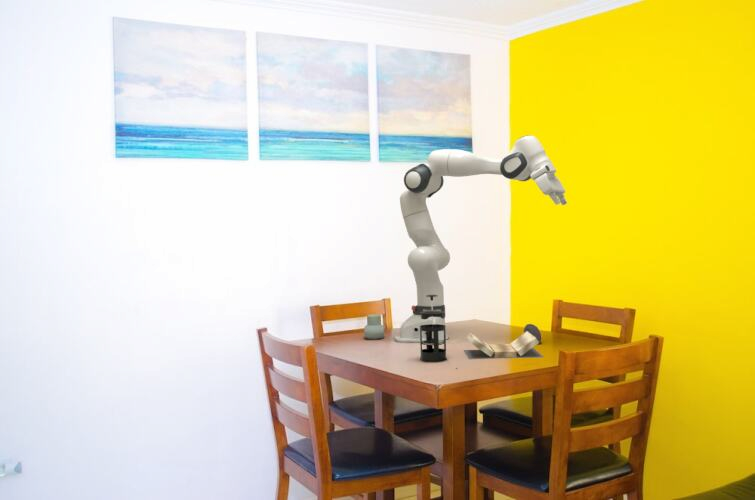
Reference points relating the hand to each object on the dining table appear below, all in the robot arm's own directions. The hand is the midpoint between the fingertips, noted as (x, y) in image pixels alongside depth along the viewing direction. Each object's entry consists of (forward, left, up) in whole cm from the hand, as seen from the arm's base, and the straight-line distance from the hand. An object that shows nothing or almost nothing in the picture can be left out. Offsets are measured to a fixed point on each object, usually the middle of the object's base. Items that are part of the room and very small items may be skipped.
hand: (561, 204), depth 264 cm
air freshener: (-73, +32, -54) cm, 96 cm away
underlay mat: (-26, -15, -54) cm, 62 cm away
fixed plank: (-26, -15, -53) cm, 61 cm away
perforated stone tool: (-10, +9, -54) cm, 56 cm away
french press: (-51, -19, -54) cm, 77 cm away
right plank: (-17, -15, -51) cm, 56 cm away
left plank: (-34, -15, -51) cm, 63 cm away
